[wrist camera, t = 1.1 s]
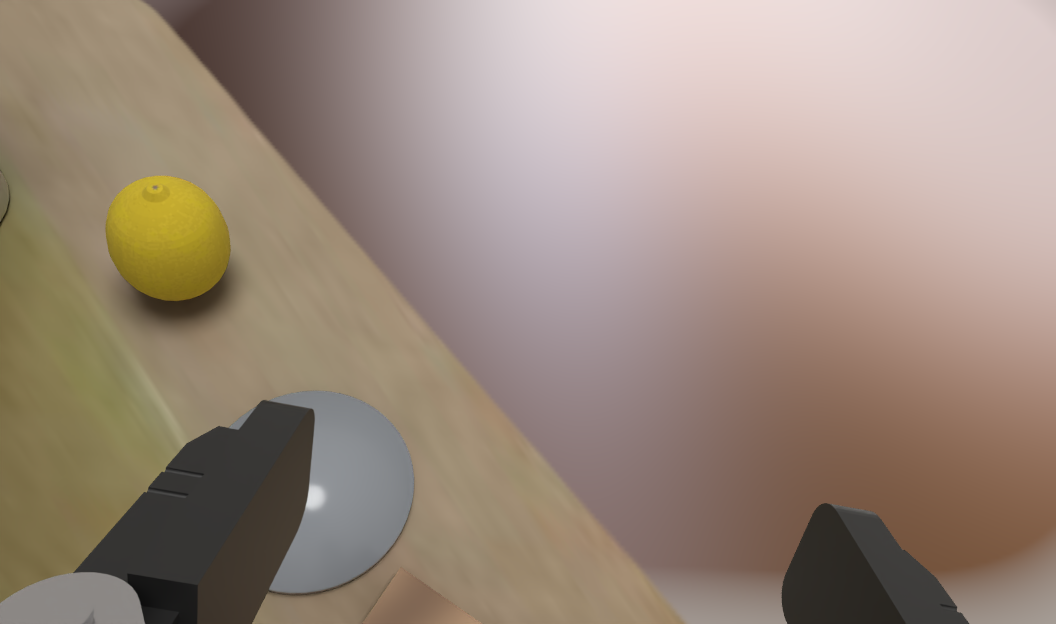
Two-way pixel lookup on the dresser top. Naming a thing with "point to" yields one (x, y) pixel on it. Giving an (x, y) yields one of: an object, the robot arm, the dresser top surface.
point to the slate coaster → (346, 494)
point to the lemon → (167, 238)
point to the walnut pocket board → (414, 605)
